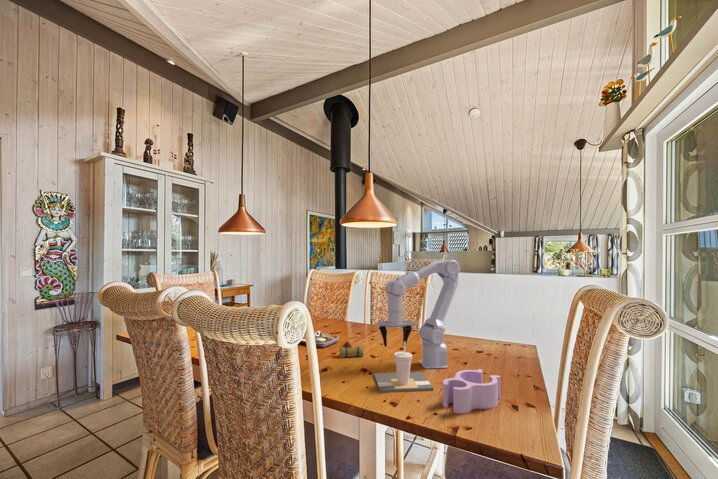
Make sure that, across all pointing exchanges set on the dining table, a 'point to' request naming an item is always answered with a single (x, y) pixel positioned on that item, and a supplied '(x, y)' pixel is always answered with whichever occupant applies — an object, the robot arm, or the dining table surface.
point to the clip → (471, 391)
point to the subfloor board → (390, 384)
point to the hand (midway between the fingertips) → (395, 345)
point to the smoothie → (403, 366)
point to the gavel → (351, 351)
